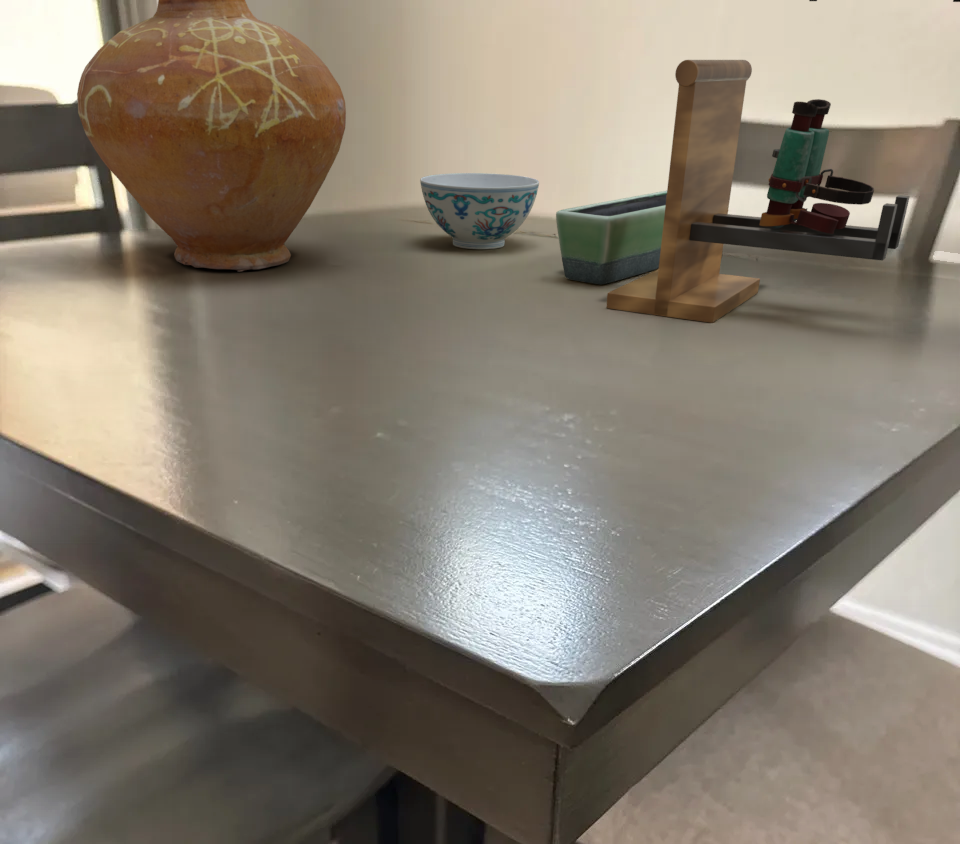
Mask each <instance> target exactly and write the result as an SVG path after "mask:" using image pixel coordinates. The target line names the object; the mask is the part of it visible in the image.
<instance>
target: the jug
mask: <svg viewBox="0 0 960 844" xmlns="http://www.w3.org/2000/svg"><path fill="white" fill-rule="evenodd" d="M76 96H77V97H76V99H77V114H78V117H79V119H80V123H81V124H82V127H83V130H84V133H85V135H86V138H87V139H88V140H89V142H90V144H91V145H92V147H93V149H94V150H95V152H96V154H98V156H99V158H100V160H101V161H102V162H103V164H104V165H105V166H106V167H107V169H109V171H110V172H111V173H112V174H113V175H114V176H115V177H116V178H117V179H118V181H119V183H121V185H122V186H123V187H124V188H125V189H126V190H127V192H128V193H129V194H130V195H131V196H132V197H133V199H134V200H135V201H136V202H137V203H138V204H139V206H140V208H142V209H143V210H144V212H145V213H146V214H147V216H148V217H149V218H150V219H151V220H152V221H153V222H154V223H155V224H156V225H157V226H158V227H159V228H160V229H162V230H163V232H165V234H167V235H168V236H169V237H170V238H171V240H172V241H173V242H174V243H175V245H176V246H177V247H176V248H175V250H174V255H173V256H174V259H175V260H176V262H179V263H180V264H183V265H184V266H191V267H193V268H201V269H203V268H204V269H210V270H211V269H212V270H233V271H237V272H244V271H247V270H253V271H255V270H262V269H267V268H270V267H275V266H280V265H283V264H285V263H287V262H290V261H289V260H290V259H291V256H292V254H291V252H290V250H289V248H288V247H287V246H286V245H285V243H286V242H287V241H288V239H289V238H290V236H291V235H292V233H293V232H294V231H295V229H296V228H297V226H298V225H299V224H300V222H301V221H302V219H303V218H304V216H305V215H306V213H307V212H308V210H309V209H310V207H311V205H312V204H313V202H314V200H315V198H316V197H317V195H318V193H319V191H320V189H321V188H322V186H323V184H324V183H325V180H326V178H327V176H328V175H329V172H330V170H331V169H332V167H333V164H334V163H335V160H336V158H337V157H338V154H339V152H340V150H341V145H342V141H343V137H344V134H345V131H346V123H347V122H346V119H347V108H346V107H347V106H346V100H345V96H344V93H343V91H342V88H341V86H340V84H339V82H338V81H337V80H336V77H334V75H333V74H332V72H331V71H330V69H329V68H328V66H327V65H326V63H324V62H323V60H322V59H321V58H320V57H319V56H318V55H317V54H316V53H315V52H314V51H313V50H312V48H310V47H309V46H308V45H307V44H306V43H305V42H303V41H302V40H300V39H299V38H298V37H296V36H295V35H294V34H291V33H290V32H288V31H287V30H285V29H284V28H283V27H280V26H279V25H277V24H273V23H270V22H267V21H263V20H260V19H259V18H257V17H256V16H255V15H254V14H253V13H252V11H251V10H250V8H249V6H248V4H247V1H246V0H158V2H157V7H156V11H155V13H154V14H153V16H152V17H149V18H148V19H145V20H143V21H142V20H141V22H138V23H135V24H134V25H131V26H129V27H127V28H125V29H122V30H120V31H118V32H117V33H116V34H114V36H112V37H111V38H110V39H108V41H106V42H105V43H104V44H103V45H102V46H101V47H100V48H99V49H98V50H97V51H96V52H95V54H94V55H93V56H92V58H90V60H89V61H88V63H87V64H86V65H85V66H84V69H83V71H82V72H81V75H80V79H79V82H78V87H77V93H76Z"/></svg>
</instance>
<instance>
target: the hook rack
mask: <svg viewBox="0 0 960 844" xmlns="http://www.w3.org/2000/svg"><path fill="white" fill-rule="evenodd" d="M752 72H753V68H752V64H751V63H750V62H749V61H748V60H746V59H684V60H683V61H681V62H679V63H678V65H677V66H676V68H675V73H674V74H675V75H674V76H675V77H674V78H675V80H676V82H677V84H678V89H677V97H676V98H677V99H676V106H675V115H674V116H675V118H674V126H673V135H672V144H671V153H670V160H669V162H670V163H669V171H668V180H667V189H666V191H667V197H666V206H665V215H664V224H663V233H662V243H661V252H660V261H659V269H656V270H653V271H650V272H648V273H647V274H645V275H643V276H641V277H638V278H637V279H634V280H632V281H630V282H628V283H626V284H623V285H621V286H619V287H616V288H615V289H613V290H611V291H609V292H607V294H606V295H607V296H606V309H611V310H617V311H623V312H631V313H639V314H644V315H652V316H660V317H665V318H666V317H667V318H673V319H681V320H682V319H683V320H689V321H695V322H703V323H710V324H711V323H712V324H713V323H715V322H716V321H718V320H719V319H721V318H722V317H724V316H725V315H727V314H729V313H730V312H731V311H734V309H736V308H737V307H739V306H741V305H742V304H744V303H745V302H747V301H748V300H750V299H751V298H753V297H755V295H757V294H758V293H759V288H760V281H761V278H757V277H750V276H742V275H735V274H734V275H732V274H726V273H725V274H724V273H720V271H721V265H722V264H721V263H722V257H723V250H724V245H730V246H740V247H748V248H749V247H750V248H759V249H769V250H778V251H789V252H797V253H807V254H815V255H826V256H834V257H843V258H853V259H862V260H872V261H873V260H874V261H884V260H885V259H886V257H887V255H888V249H890V250H896V249H897V248H898V247H899V245H900V241H901V236H902V231H903V227H904V223H905V219H906V218H905V217H906V215H907V210H908V206H909V202H910V197H911V196H910V195H906V194H905V195H903V194H899V195H897V196H896V197H895V201H894V203H884V204H883V205H882V207H881V208H882V209H881V212H880V217H879V222H878V225H877V227H870V226H860V225H859V226H857V225H847V224H846V226H845V227H844V228H842V229H835V230H834V233H833V234H830V233H825V232H821V231H818V230H814V229H811V228H808V227H805V226H802V225H796V224H793V223H791V224H788V225H784V226H783V227H781V228H772V227H770V226H760V225H759V224H760V220H761V216H751V215H742V214H741V215H739V214H729V207H730V206H729V205H730V200H731V193H732V187H733V186H732V185H733V179H734V171H735V167H736V158H737V151H738V144H739V138H740V137H739V136H740V129H741V123H742V115H743V109H744V101H745V94H746V88H747V87H746V86H747V81H748V80H749V79H750V78H751V76H752ZM796 221H797V220H796ZM796 221H794V222H796Z"/></svg>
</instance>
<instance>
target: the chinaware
mask: <svg viewBox="0 0 960 844" xmlns="http://www.w3.org/2000/svg"><path fill="white" fill-rule="evenodd" d="M419 182H420V187H421V188H420V189H421V192H422V196H423V200H424V203H425V206H426V208H427V211H428V213H429V214H430V216H431V217H432V219H433V220H434V222H435V223H436V224H437V225H438V227H439V228H440V229H441V230H442V231H444V232H445V233H446V234H447V235H448V236H450V237H451V238H452V245H453V246H454V247H457V248H461V249H465V250H466V249H467V250H495V249H500V248H503V247H504V246H505V242H506V238H508V237H509V236H511V235H512V234H514V233H515V232H516V231H517V230H518V229H519V228H520V227H521V226H522V225H523V224H524V222H525V221H526V220H527V219H528V217H529V215H530V213H531V211H532V209H533V206H534V204H535V201H536V198H537V194H538V190H539V185H540V180H538V179H536V178H533V177H529V176H524V175H515V174H505V173H504V174H503V173H487V172H486V173H483V172H482V173H481V172H457V173H456V172H454V173H439V174H432V175H431V174H430V175H426V176H423V177H421V178H420V180H419Z"/></svg>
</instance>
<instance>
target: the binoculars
mask: <svg viewBox="0 0 960 844" xmlns="http://www.w3.org/2000/svg"><path fill="white" fill-rule="evenodd" d="M831 104H832V103H831V102H830V101H829V100H826V99H820V98H818V99H817V98H816V99H810V100H808V101H807V102H806V101H794V102H793V105H792V106H793V107H792V109H791V110H792V111H791V114H793V117H792V122H791V126H789V127H787V128H785V131H784V134H783V137H782V140H781V144H780V146H779V147H780V148H775V149H773V150H772V154H771V157H772V158H775V159H776V161H775V164H774V167H773V172H772V173H771V175H770V177H769V178H768V189H767V194H766V199H767V200H769V201H768V205H767V209H766V211H765V212H762V213H761V216H760V217H761V220H760V224H759V225H760V226H770V227H772V228H781V227H783V226H784V225H788V224H791V223H793V224H796V225H802V226H805V227H808V228H811V229H814V230H818V231H821V232H825V233H830V234H833V233H834V230H835V229H842V228H844V227H845V226H846V225H847V223H848V221H849V218H850V214H851V212H850V211H849V210H848V209H847V208H845V207H843V206H841V205H838V204H844V205H859V206H862V205H867V204H870V203H871V202H872V199H873V196H874V192H875V188H874V187H873V186H872V185H870V184H868V183H866V182H862V181H859V180H856V179H851V178H848V177H847V178H846V177H843V176H836V175H833V174H834V169H832V168H828V169H823V170H822V166H823V161H824V157H825V153H826V149H827V144H828V139H829V134H830V130H829V128H825V127H823V123H824V120H825V117H826V115H829V113H830V112H829V111H830V109H831V106H832V105H831ZM821 170H822V171H821ZM829 172H830V174H829V175H827V176H826V177H827V178H826V180H825V185H824V186H821V184H822V182H823V179H824V174H825V173H829ZM807 198H813V199H817V200H821V201H826V202H815V203H813V204H812V206H811V210H808V208H805V207H804V204H805V202H806V201H807ZM828 202H830V203H828ZM833 203H834V204H833ZM794 221H796V222H794Z"/></svg>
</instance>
